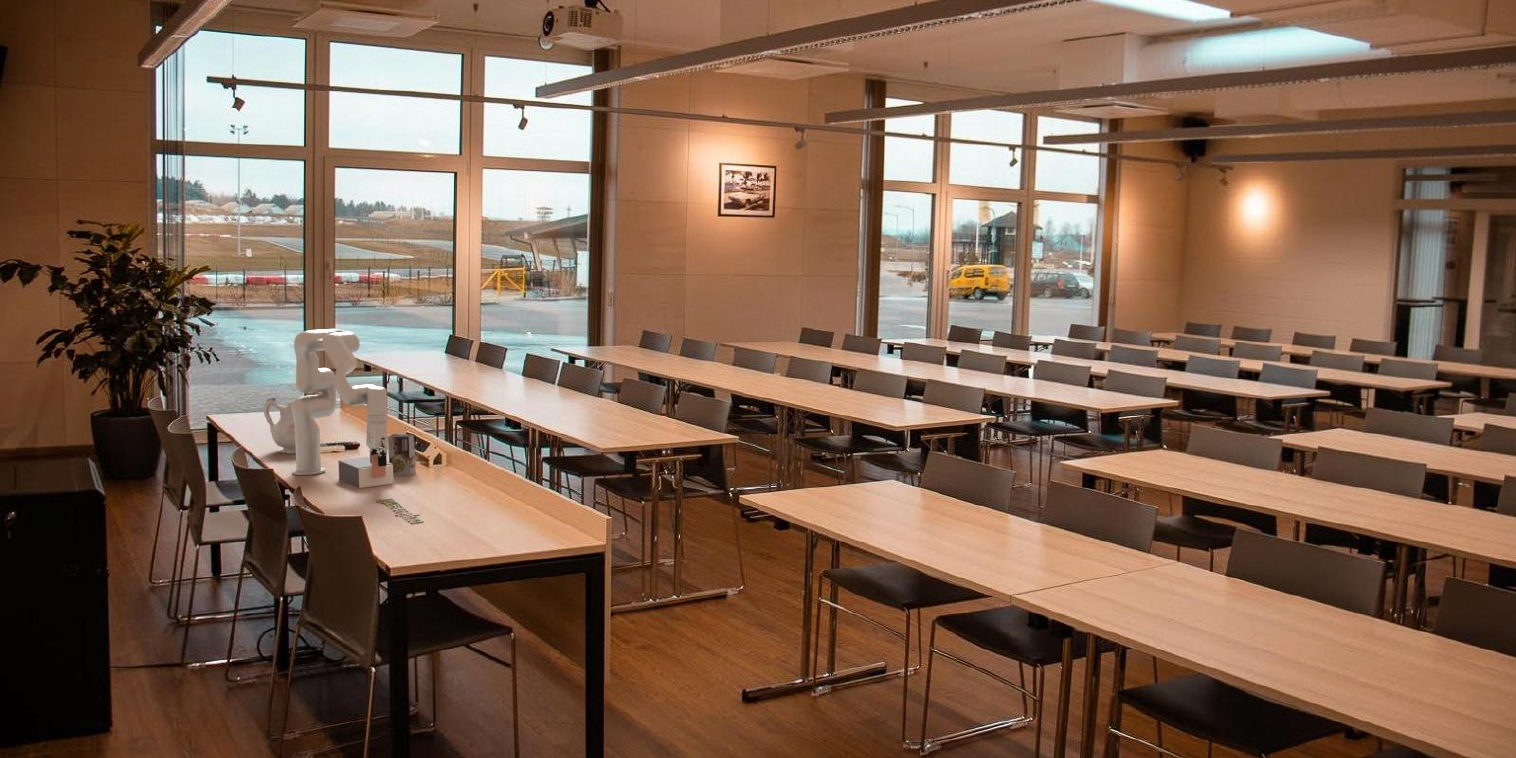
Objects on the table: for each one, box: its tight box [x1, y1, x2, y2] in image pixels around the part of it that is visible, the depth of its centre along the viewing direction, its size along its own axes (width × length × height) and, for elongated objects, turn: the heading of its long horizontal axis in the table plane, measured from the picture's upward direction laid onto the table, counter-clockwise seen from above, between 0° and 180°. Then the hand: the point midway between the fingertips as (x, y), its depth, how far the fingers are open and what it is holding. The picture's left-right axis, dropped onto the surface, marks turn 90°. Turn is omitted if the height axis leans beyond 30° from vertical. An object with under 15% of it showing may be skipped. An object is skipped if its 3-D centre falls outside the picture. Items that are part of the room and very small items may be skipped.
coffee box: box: [388, 433, 417, 476], centre depth 490 cm, size 9×6×16 cm
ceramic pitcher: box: [263, 397, 296, 455], centre depth 534 cm, size 22×20×25 cm
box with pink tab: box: [358, 454, 394, 489], centre depth 472 cm, size 21×14×13 cm, turn 41°
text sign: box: [375, 498, 425, 524], centre depth 428 cm, size 40×1×8 cm
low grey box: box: [337, 456, 392, 489], centre depth 475 cm, size 19×14×8 cm
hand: (378, 464), depth 465 cm, fingers open, 6 cm apart
